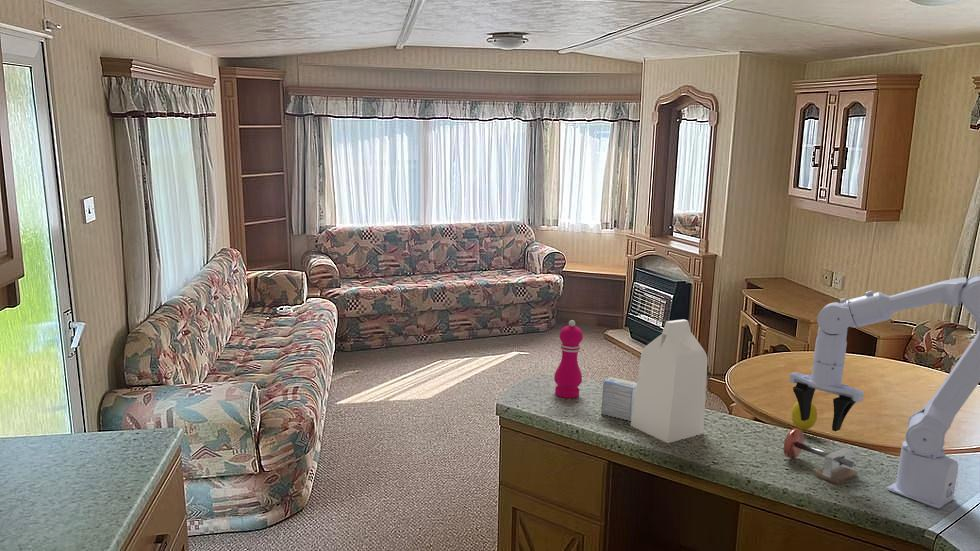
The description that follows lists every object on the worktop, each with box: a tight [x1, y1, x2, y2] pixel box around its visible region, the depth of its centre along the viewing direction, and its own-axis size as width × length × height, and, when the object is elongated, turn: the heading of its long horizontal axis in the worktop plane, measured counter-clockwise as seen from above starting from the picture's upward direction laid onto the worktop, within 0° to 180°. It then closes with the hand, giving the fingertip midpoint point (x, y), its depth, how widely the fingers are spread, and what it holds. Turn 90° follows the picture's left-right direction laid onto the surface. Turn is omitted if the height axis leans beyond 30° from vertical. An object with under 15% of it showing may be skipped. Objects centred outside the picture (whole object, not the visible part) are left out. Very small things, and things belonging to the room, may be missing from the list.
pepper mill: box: [553, 319, 584, 399], centre depth 189 cm, size 7×7×20 cm
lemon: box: [791, 401, 818, 432], centre depth 172 cm, size 6×6×8 cm
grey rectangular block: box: [600, 376, 637, 422], centre depth 176 cm, size 8×4×9 cm, turn 58°
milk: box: [630, 319, 708, 444], centre depth 167 cm, size 12×12×26 cm
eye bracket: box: [813, 446, 859, 486], centre depth 148 cm, size 5×8×5 cm, turn 128°
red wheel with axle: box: [783, 427, 855, 468], centre depth 151 cm, size 14×6×6 cm, turn 39°
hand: (820, 424), depth 151 cm, fingers open, 6 cm apart
